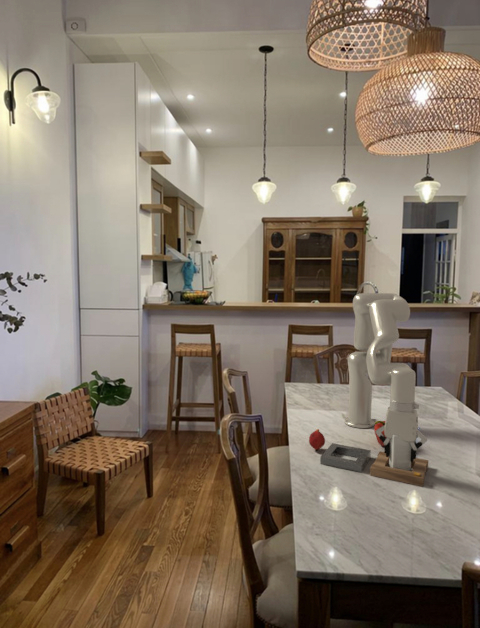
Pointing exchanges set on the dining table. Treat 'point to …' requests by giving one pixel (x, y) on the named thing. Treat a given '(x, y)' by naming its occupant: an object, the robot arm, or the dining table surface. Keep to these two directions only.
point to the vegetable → (377, 426)
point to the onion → (317, 440)
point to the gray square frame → (344, 463)
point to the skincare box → (399, 453)
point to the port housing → (399, 470)
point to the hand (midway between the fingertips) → (399, 457)
